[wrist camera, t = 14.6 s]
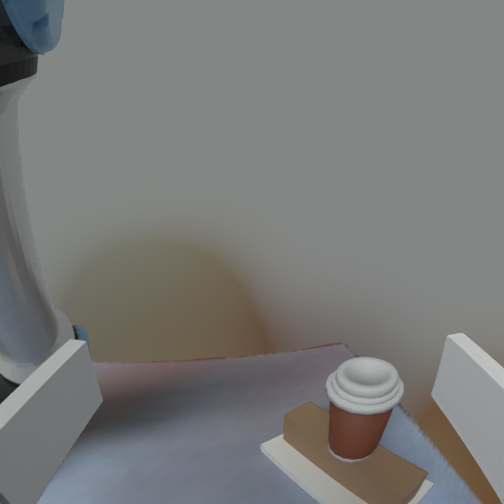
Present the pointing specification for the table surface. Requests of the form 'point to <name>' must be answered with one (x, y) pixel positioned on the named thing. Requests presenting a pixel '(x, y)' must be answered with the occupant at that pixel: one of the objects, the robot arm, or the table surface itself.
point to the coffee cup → (360, 406)
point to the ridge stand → (341, 465)
